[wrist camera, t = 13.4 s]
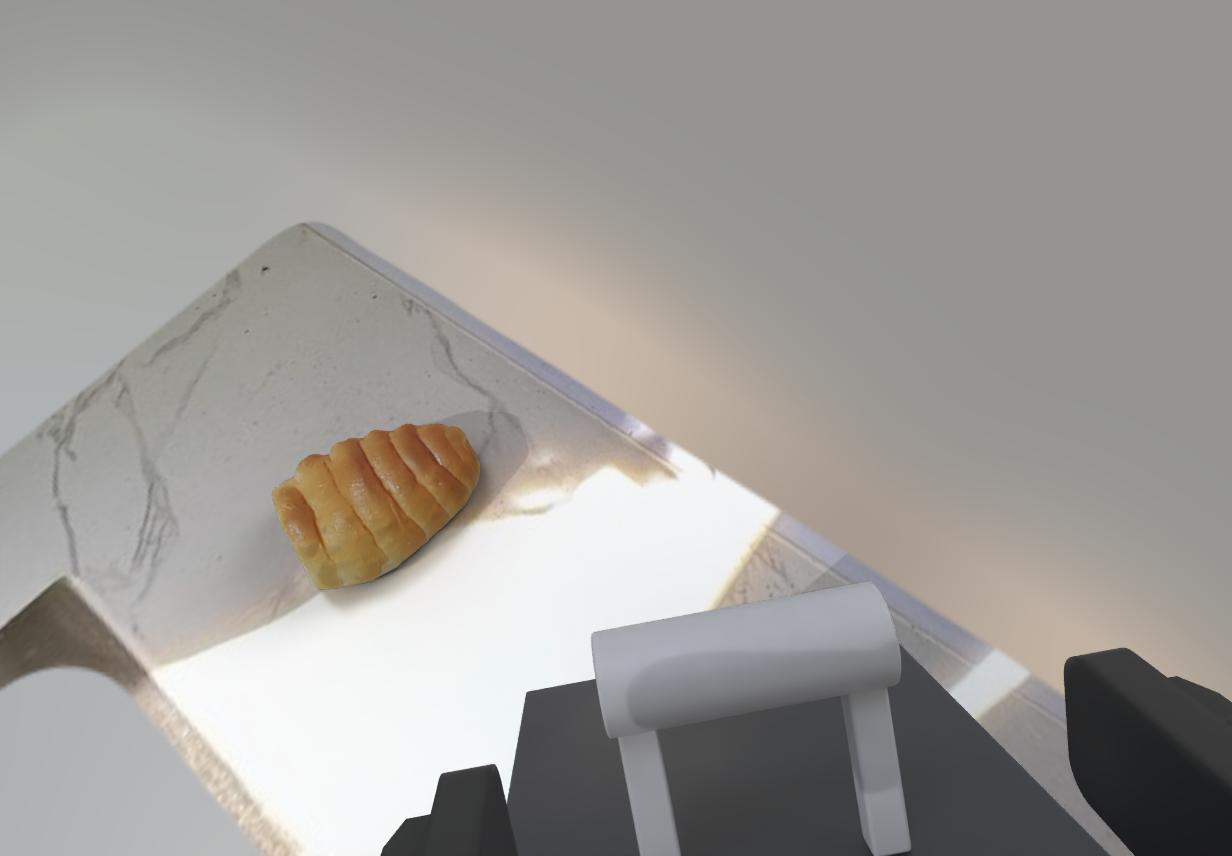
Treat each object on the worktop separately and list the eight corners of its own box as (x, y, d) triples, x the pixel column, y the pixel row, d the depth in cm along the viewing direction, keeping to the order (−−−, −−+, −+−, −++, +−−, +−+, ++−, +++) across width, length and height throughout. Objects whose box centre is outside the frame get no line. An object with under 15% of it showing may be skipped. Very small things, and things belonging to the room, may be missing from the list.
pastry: (446, 411, 45) (426, 368, 42) (510, 508, 42) (494, 470, 39) (276, 507, 43) (242, 469, 40) (331, 617, 40) (298, 587, 37)
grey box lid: (1150, 935, 14) (1109, 590, 13) (477, 1063, 14) (403, 721, 13) (885, 650, 26) (857, 465, 25) (531, 716, 26) (493, 532, 25)
